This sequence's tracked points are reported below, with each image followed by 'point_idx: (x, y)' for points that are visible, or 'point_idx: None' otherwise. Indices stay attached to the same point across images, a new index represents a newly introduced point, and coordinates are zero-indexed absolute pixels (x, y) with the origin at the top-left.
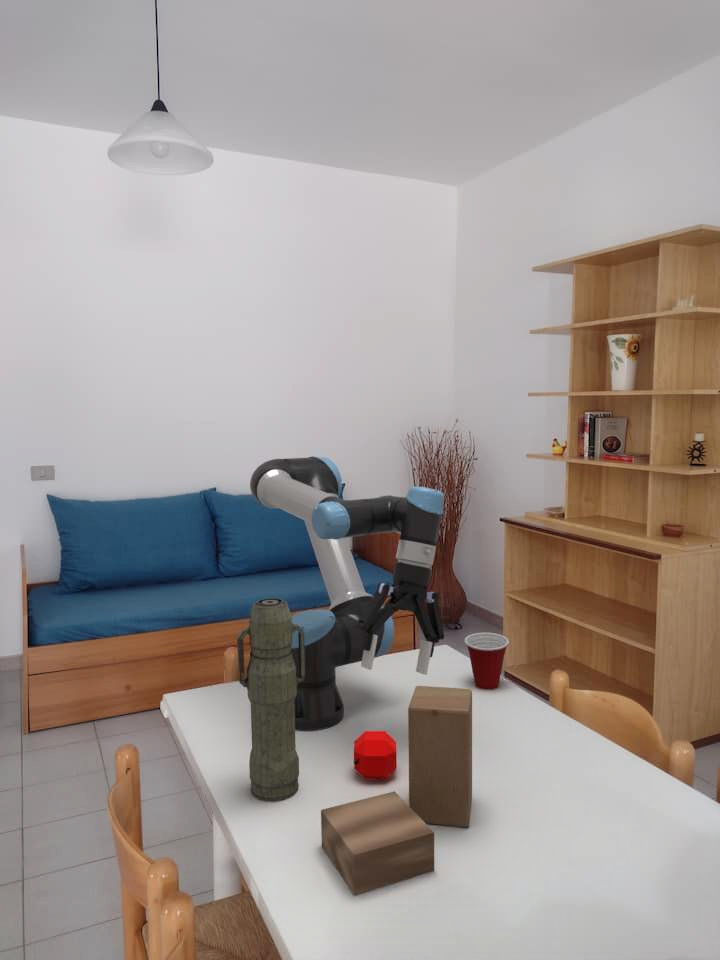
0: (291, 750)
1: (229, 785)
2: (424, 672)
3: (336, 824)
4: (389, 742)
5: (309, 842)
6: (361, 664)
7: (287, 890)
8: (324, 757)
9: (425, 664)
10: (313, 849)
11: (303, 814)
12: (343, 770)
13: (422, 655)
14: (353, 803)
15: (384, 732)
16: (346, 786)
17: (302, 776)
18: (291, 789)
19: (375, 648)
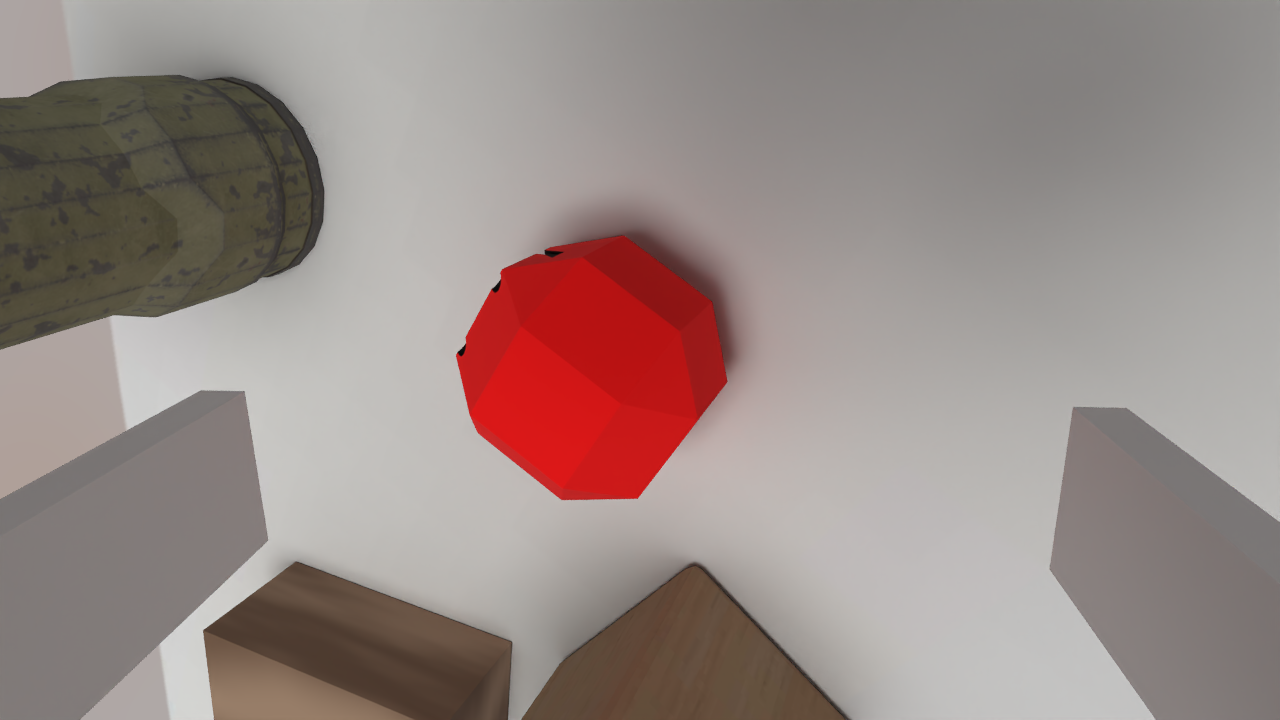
0: (126, 307)
1: (110, 42)
2: (1064, 582)
3: (223, 713)
4: (602, 478)
5: (273, 525)
6: (190, 403)
7: (192, 627)
8: (502, 30)
9: (1107, 641)
10: (274, 556)
11: (293, 395)
12: (526, 213)
13: (1181, 617)
14: (295, 678)
15: (608, 414)
16: None
17: (358, 149)
18: (263, 276)
19: (96, 703)
